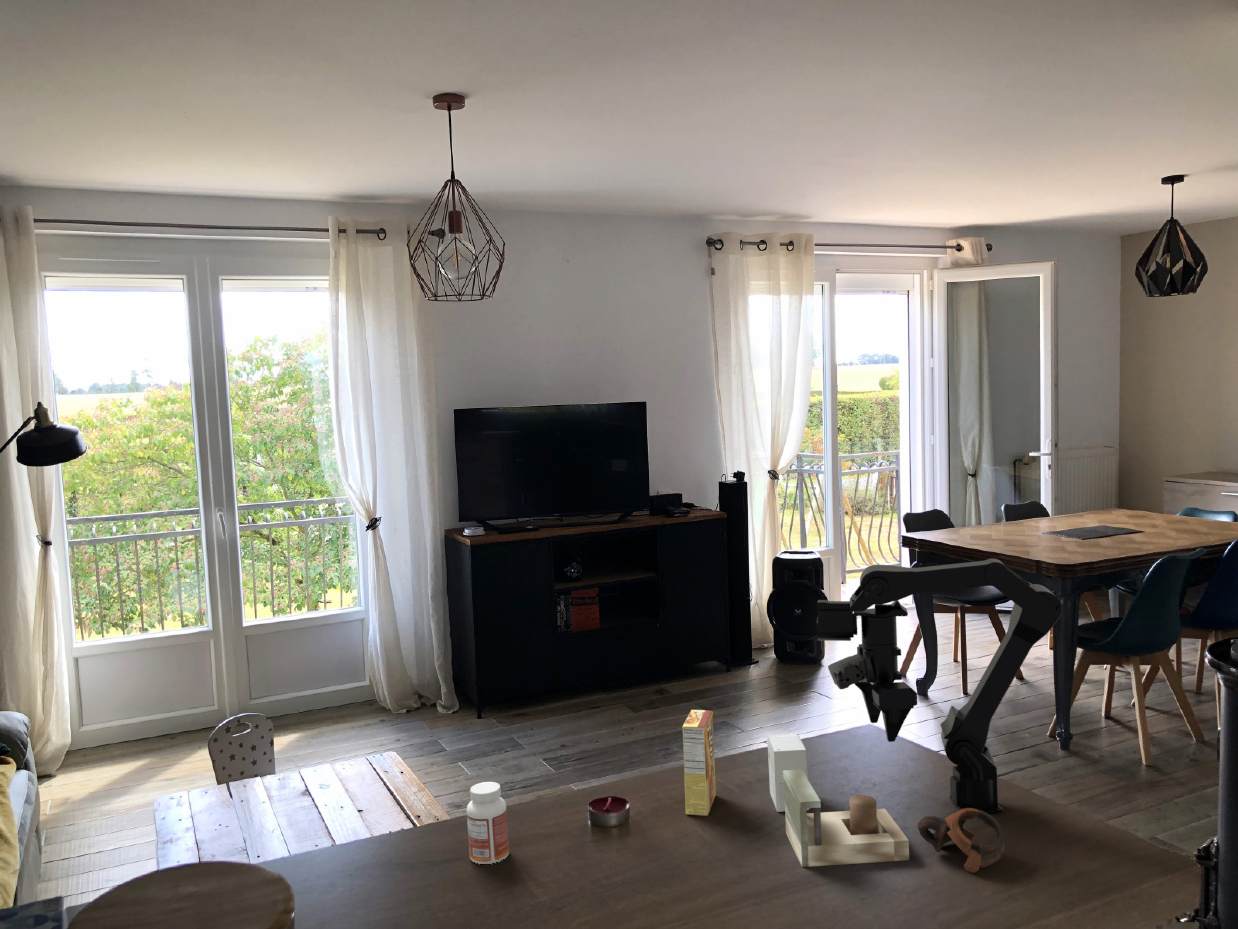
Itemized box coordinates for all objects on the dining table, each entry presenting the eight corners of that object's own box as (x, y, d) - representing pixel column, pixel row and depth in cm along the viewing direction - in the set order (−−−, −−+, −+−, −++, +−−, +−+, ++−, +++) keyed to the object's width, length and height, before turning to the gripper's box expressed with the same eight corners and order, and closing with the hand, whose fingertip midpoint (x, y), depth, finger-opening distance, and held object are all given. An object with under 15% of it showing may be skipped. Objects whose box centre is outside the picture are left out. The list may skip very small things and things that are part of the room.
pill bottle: (504, 844, 148) (500, 776, 148) (513, 861, 142) (509, 790, 142) (466, 852, 146) (461, 783, 145) (473, 870, 140) (469, 798, 140)
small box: (809, 811, 155) (807, 750, 154) (776, 813, 155) (773, 751, 154) (801, 792, 163) (798, 733, 162) (769, 793, 163) (767, 734, 162)
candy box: (693, 793, 164) (689, 709, 163) (717, 795, 163) (713, 709, 162) (684, 815, 156) (680, 726, 155) (709, 817, 154) (705, 727, 154)
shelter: (884, 825, 148) (882, 764, 148) (910, 861, 136) (908, 795, 136) (785, 831, 148) (782, 770, 147) (802, 868, 136) (800, 802, 135)
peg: (873, 838, 144) (871, 794, 144) (881, 850, 140) (879, 805, 140) (847, 840, 144) (846, 796, 144) (855, 852, 140) (853, 807, 140)
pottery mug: (988, 844, 142) (1006, 809, 137) (995, 899, 134) (1014, 864, 129) (909, 822, 143) (924, 788, 139) (911, 875, 135) (927, 841, 131)
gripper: (818, 630, 165) (821, 716, 166) (847, 658, 146) (850, 755, 147) (879, 627, 165) (882, 713, 166) (917, 654, 146) (920, 750, 147)
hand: (882, 731), depth 157 cm, fingers open, 9 cm apart
